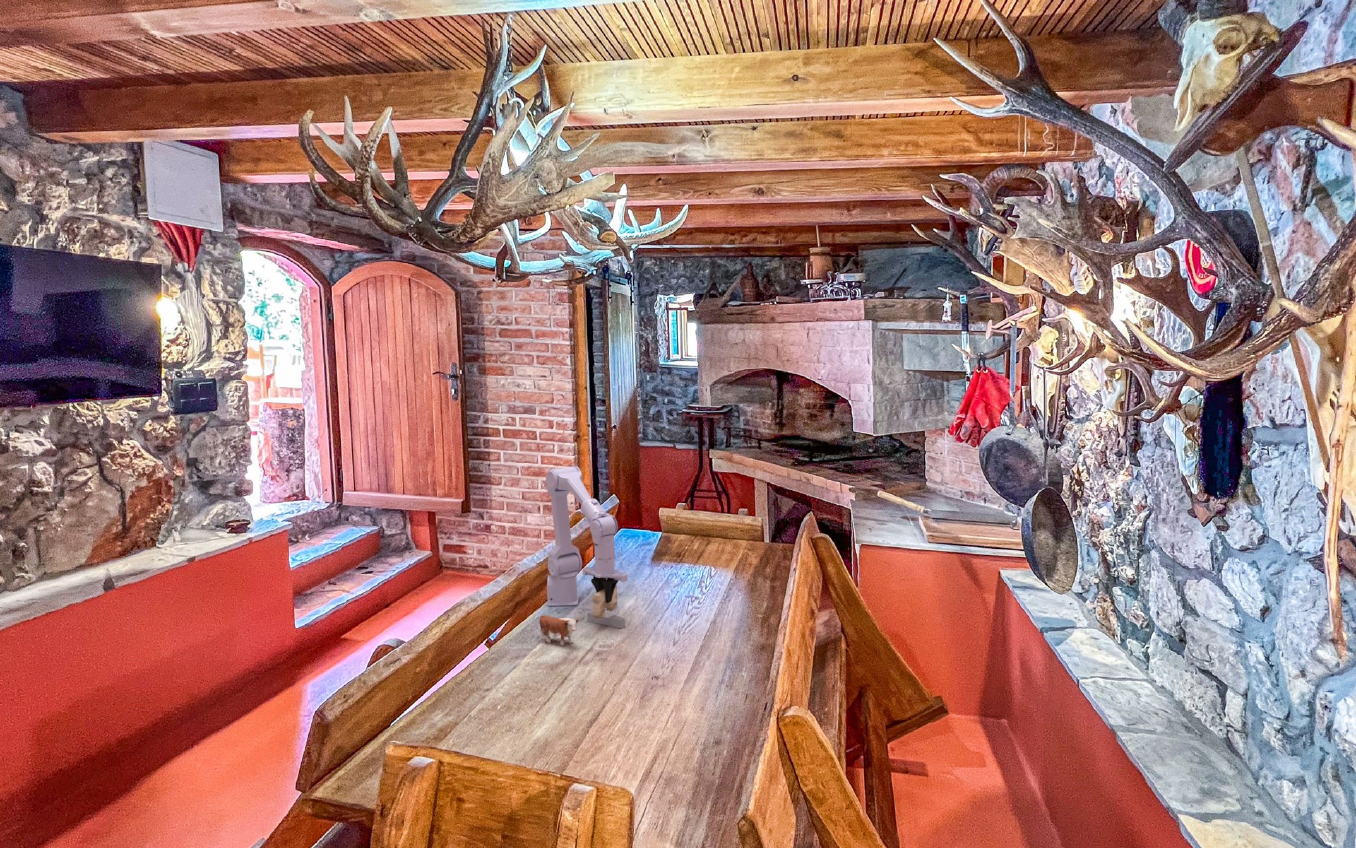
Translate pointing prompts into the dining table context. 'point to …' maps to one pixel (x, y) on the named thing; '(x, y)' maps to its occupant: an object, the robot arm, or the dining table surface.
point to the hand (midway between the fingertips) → (605, 601)
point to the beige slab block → (603, 603)
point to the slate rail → (607, 620)
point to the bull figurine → (557, 627)
